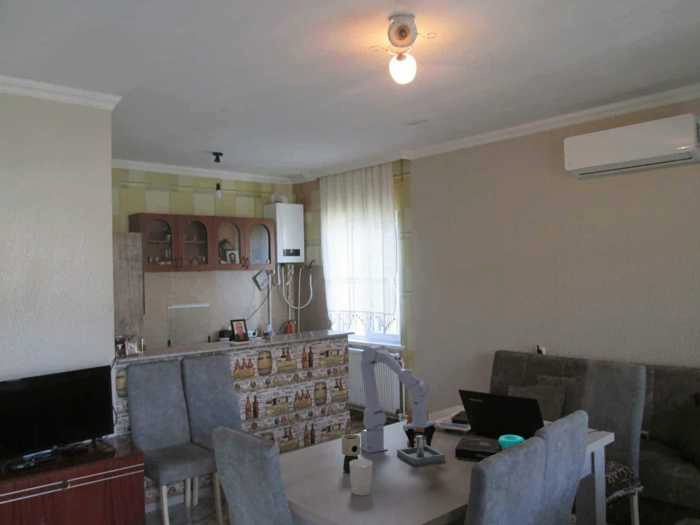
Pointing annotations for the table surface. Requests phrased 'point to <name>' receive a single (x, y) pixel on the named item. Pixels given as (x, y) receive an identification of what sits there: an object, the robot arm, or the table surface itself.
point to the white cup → (361, 476)
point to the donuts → (510, 440)
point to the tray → (411, 457)
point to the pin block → (415, 443)
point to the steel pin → (420, 445)
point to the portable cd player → (477, 448)
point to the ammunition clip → (410, 420)
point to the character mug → (350, 449)
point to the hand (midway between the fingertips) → (420, 446)
